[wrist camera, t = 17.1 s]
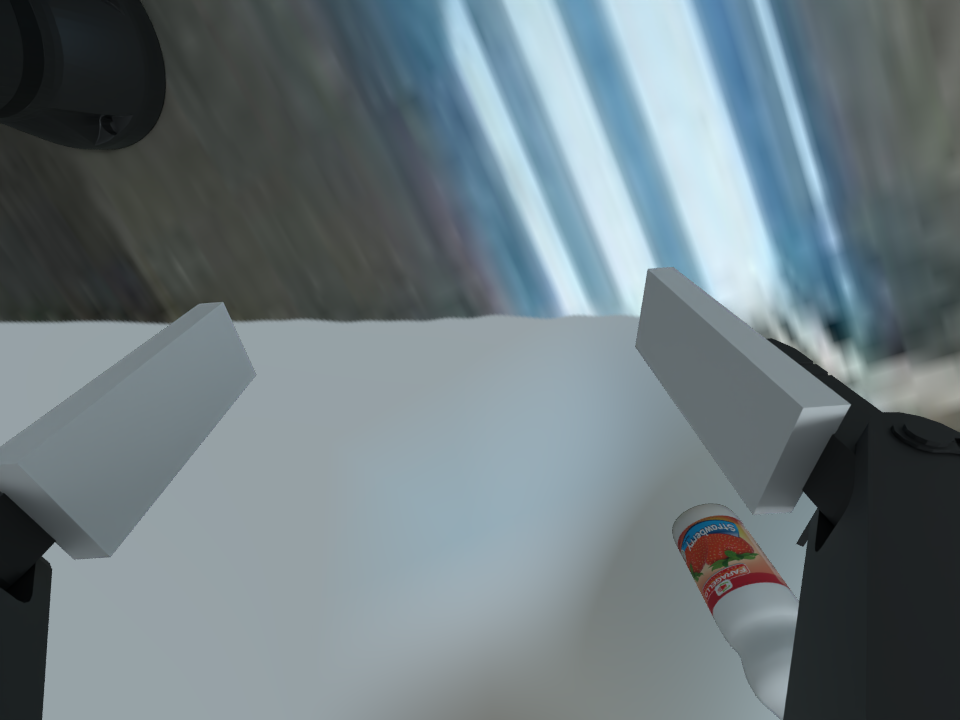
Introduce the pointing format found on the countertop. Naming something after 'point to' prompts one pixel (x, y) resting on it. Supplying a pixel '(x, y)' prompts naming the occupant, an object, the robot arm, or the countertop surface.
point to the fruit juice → (742, 596)
